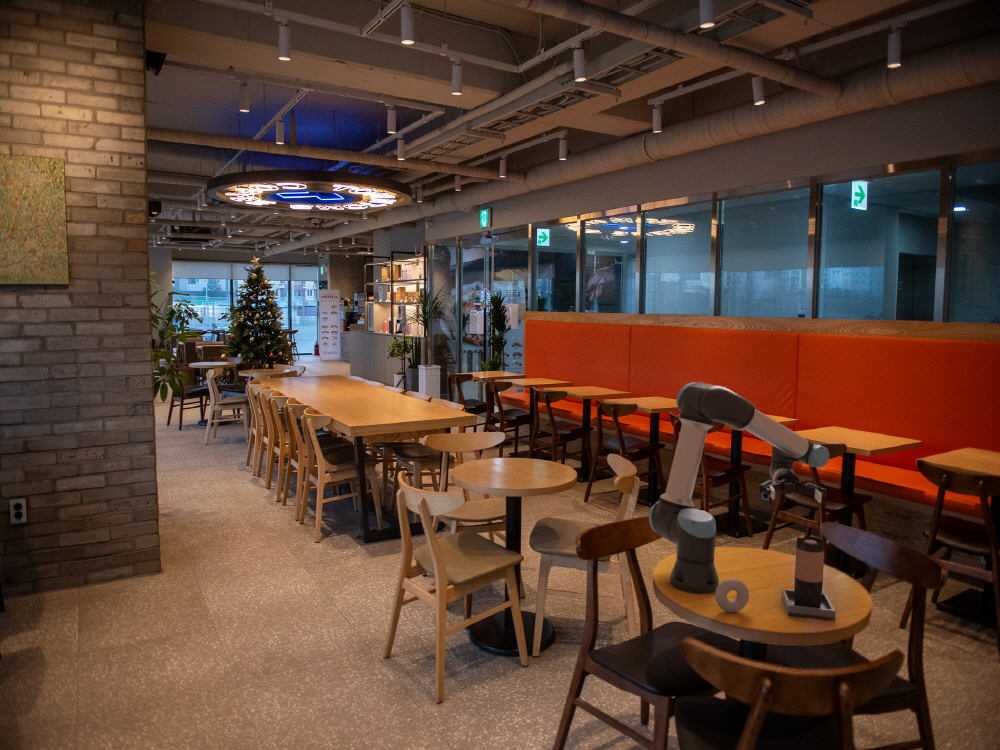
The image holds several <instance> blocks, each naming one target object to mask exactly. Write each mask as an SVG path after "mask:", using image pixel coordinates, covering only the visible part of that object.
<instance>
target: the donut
mask: <svg viewBox="0 0 1000 750" xmlns="http://www.w3.org/2000/svg"><path fill="white" fill-rule="evenodd" d="M731 591H734V592H736V597H735V598H734V599H731V600H729V599H728V594H729V593H730V592H731ZM714 599H715V602H716V604H717V607H719V608H720V609H721V610H722V611H724V612H727V613H737V612H740V611H741V610H743V609H744V608H745V607H746V606H747V604H748V602H749V600H750V591H749V589H748V586H747V585H746V584H745V583H744V582H743V581H741V580H739V579H737V578H733V577H732V578H727V579H724V580H722V581H720V582H719V585H718V587H717V589H716V591H715V592H714Z"/></svg>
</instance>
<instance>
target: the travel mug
mask: <svg viewBox="0 0 1000 750" xmlns="http://www.w3.org/2000/svg"><path fill="white" fill-rule="evenodd" d="M825 544H826V543H825V541H824V540H823V539H822V538H819V537H815V536H808V535H807V536H805V537H803V538H802V537H800V536H798V537H796V549H795V563H794V589H793V590H794V604H795V605H796V606H805V607H814V608H820V607H821V597H822V593H823V585H824V584H823V583H824V566H825V565H824V564H825Z"/></svg>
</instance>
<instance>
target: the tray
mask: <svg viewBox="0 0 1000 750" xmlns="http://www.w3.org/2000/svg"><path fill="white" fill-rule="evenodd" d="M780 599H781V602H782V605H783V608H784V609H785V612H786V614H787V616H788V617H795V618H804V619H812V620H821V621H830V620H833V621H832V622H836V614H837V613H836V611H837V610H836V609H835V607H834V605H833V603H832V602H831V599H830V597H829V596H828V594H827V593H825V592H824V593H823V592H822V597H821V607H820V608H814V607H805V606H796V605H795V604H794V589H787V588H781V597H780Z"/></svg>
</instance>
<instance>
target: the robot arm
mask: <svg viewBox="0 0 1000 750" xmlns="http://www.w3.org/2000/svg"><path fill="white" fill-rule="evenodd" d="M675 400H676V406H677V409H678V411H679V415H678V419H679V421H680V422H681V427H680V432H679V435H678V439H677V443H676V447H675V452H674V456H673V460H672V464H671V465H672V466H671V469H670V474H669V476H668V477H669V478H668V480H667V486H666V490H665V492H664V493H663V494H661V495H660V496H659V499H658V501H656V502H655V504H653V505H652V506H651V507H650V510H649V514H648V522H649V525H650V527H651V529H652V530H653V531H654V532H655V533H656V534H657V535H658V536H660V537H661V538H662V539H666V540H667V541H669V542H671V543H673V544H675V545H676V560H675V562H674V565H673V568H672V570H671V573H670V574H669V575H670V578H669V582H670V585H671V584H672V585H673V586H672V585H671V586H672V587H674V588H675V589H677V590H679V591H683V592H686V593H690V594H702V595H704V594H711V593H715V592H716V589H717V587H718V585H719V584H720V580H719V576H718V573H717V568H716V564H715V553H716V550H715V549H716V533H717V527H716V525H717V524H716V523H717V522H716V518H715V516H713V515H712V514H711V513H709V512H707V511H705V510H702V509H701V510H700V509H698V508H695V503H694V502H693V500H692V497H693V493H694V489H695V485H696V481H697V476H698V472H699V468H700V464H701V460H702V455H703V451H704V448H705V442H706V439H707V434H708V431H709V430H711V428H713V427H714V425H715V423H717V422H718V423H722V424H724V425H725V424H726V425H728V426H731V427H733V428H735V429H737V430H744V431H746V432H748V433H749V434H752V435H753V436H755V437H757V438H759V439H761V441H763V442H766V443H767V444H770V445H771V461H770V463H771V464H770V467H769V472H768V473H769V477H770V479H767V480H766V481H764V482H762V483H761V484H760V483H759V488H758V489H759V491H758V492H759V493H765V496H768V497H769V496H770V498H771V500H775V499H776V492H778V493H779V492H780V493H782V494H785V495H793V494H794V493H796V494H797V493H798V494H805V495H809V496H813V497H814V499H815V500H816V501H817V502H818V503H819V504H821V503H822V499H824V498H827V492H828V491H827V488H824V487H822V486H818V485H816V484H814V483H811V482H810V481H807V482H806V484H805V483H804V482H801V481H800V479H799V478H798V476H797V474H796V473H795V472H794V469H795V467H794V466H795V462H796V463H800V464H803V465H806V466H810V467H811V468H819V469H820V468H823V467H825V466H826V465H827V464H828V462H829V460H830V452H829V449H828V448H827V446H826V447H825V446H823V445H822V444H820V443H819V444H818V443H815V442H812V441H811V440H808V439H807V438H805V437H803V436H802V435H800V434H798V433H797V432H796V431H793V430H792V429H791V428H788V427H787V426H785V425H783V424H782V423H780V422H779V421H776V419H773V418H771V417H770V416H768V415H766V414H765V413H763V412H762V411H759V410H758V409H756V407H755V404H754V403H752V402H751V401H749V400H747V399H746V398H745V397H743V396H741V395H739V394H738V393H737V392H734V391H733V390H731V389H729V388H728V387H724V386H721V385H714V384H709V383H705V382H699V381H698V382H688V383H687V384H686V385H684V386H683V387H681V389H680V390H679V392H678V393H677V396H676V399H675Z"/></svg>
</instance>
